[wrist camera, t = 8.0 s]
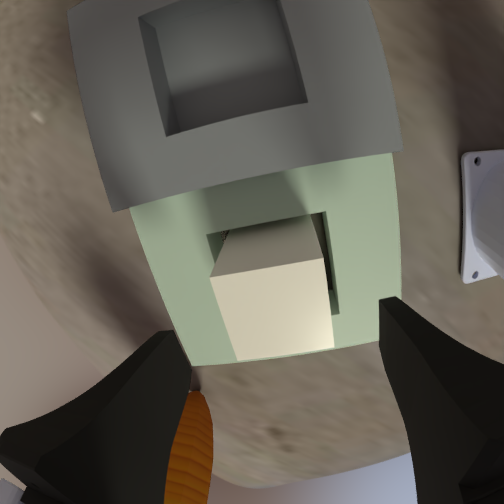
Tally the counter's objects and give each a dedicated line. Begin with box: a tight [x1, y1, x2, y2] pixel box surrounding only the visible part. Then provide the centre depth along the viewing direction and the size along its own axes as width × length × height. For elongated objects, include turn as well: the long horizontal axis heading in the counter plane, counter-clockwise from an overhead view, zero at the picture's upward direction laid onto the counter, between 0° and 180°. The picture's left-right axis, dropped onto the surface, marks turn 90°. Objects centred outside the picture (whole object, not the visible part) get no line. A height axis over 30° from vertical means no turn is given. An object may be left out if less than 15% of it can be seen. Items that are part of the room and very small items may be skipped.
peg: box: [209, 214, 334, 361], centre depth 14 cm, size 4×4×6 cm
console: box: [67, 0, 404, 366], centre depth 13 cm, size 20×12×4 cm, turn 13°
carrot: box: [164, 391, 213, 504], centre depth 15 cm, size 5×5×15 cm
